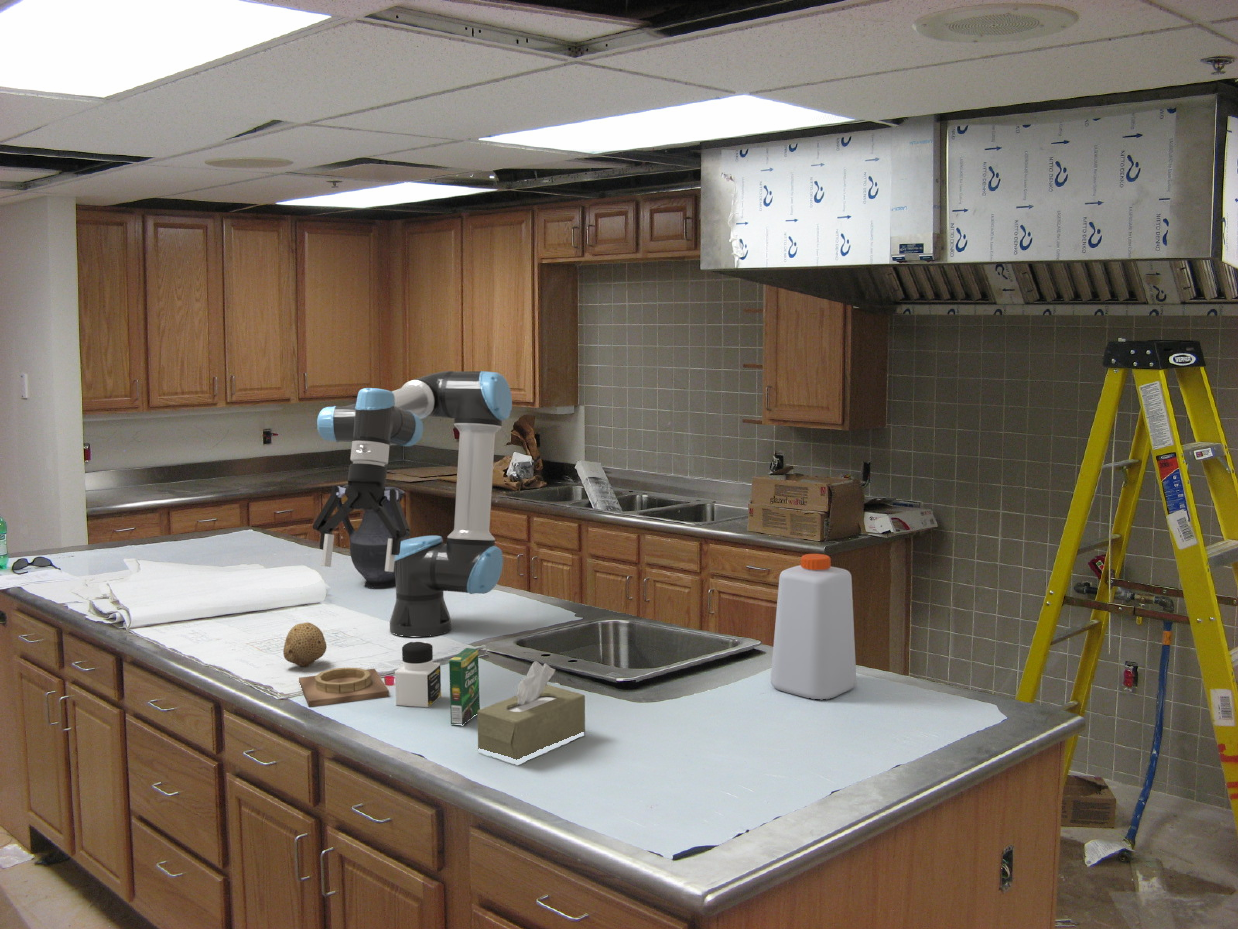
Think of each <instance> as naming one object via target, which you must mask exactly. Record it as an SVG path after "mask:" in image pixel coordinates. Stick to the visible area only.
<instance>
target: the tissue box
mask: <svg viewBox="0 0 1238 929" xmlns="http://www.w3.org/2000/svg"><path fill="white" fill-rule="evenodd" d="M555 672H556V669H555V668H552V667H551V666H550V665H548V664H547V663H544V664H543V665H542V664H540V663H539V662H538V661H537V660H535V661H534V662H532V664H531V665H530V668H529V670H528V672H527V673H526V677H524V678H523V679H522V680H520V681H519V682H518V687H517V693H516V695H515V696H512V697H509V698H507V699H504V700H501V701H499V702H495V703H494V704H490V705H488V706H485V707H483V708H480V710H478V711H477V750H478V749H479V748H480V749H484V750H487V751H490V752H493V753H498V754H501V755H504V756H508V757H511V758H513V759H516V760H517V759H520V758H522V757H523V756H527V755H529V754H531V753H534V752H536V751H537V750H539V749H543V748H544V747H546V746H550V745H552V744H554V743H558V742H559V741H562V740H564V739H567V738H569V737H571V736H575V735H577V734H579V733H581V732H585V733H586V703H585V702H586V701H585V700H586V696H585V694H583V693H578V692H576V691H571V690H569V689H564V688H560V687H557V686H553V685H551V684H548V683H549V680H550V679H551V678H552V677H553V675H554V674H555Z"/></svg>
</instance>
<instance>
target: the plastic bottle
mask: <svg viewBox="0 0 1238 929" xmlns="http://www.w3.org/2000/svg"><path fill="white" fill-rule="evenodd" d="M831 560H832V559H831V557H830V556H829V555H827V554H821V553H806V554H803V555H802V556H801V558H800V565H796V566H792V567H789V568H786V569H784V570H782V571H781V572H780V574H779V576H778V577H779V579H778V590H777V601H776V602H777V603H776V613H775V625H774V636H773V648H772V659H771V668H770V669H771V670H770V671H771V672H770V684H771V686H772V687H773V688H774V689H775V690H778V691H780V692H784V693H788V694H791V695H794V696H799V697H802V698H807V699H809V698H811V700H815V699H820V700H819V701H824V700H823V699H826V700H830V698H831V699H834V698H835V697H838V696H840V695H842V694H844V693H846V692H848V691H851V690H852V689H854V688H855V687H856V684H857V670H856V668H857V667H856V666H857V664H856V649H855V646H856V645H855V643H856V642H855V626H854V625H855V624H854V623H855V622H854V606H853V605H854V601H853V584H852V583H853V582H852V581H853V580H852V573H851V572H850V571H849V570H847V569H845V568H841V567H836V566H831V565H832V563H831Z"/></svg>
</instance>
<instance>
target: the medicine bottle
mask: <svg viewBox="0 0 1238 929" xmlns="http://www.w3.org/2000/svg"><path fill="white" fill-rule="evenodd" d="M433 648H434V647H433V645H432V643H430V642H428V641H424V640H415V641H410V642H407V643H405V644H403V646H401V649H402V650H401V653H402V654H401V655H402V656H401V657H402V666H400V667H399V668H398V669H396V670H395V671H394V689H395V690H394V691H395V692H394V693H395V705H396V706H401V707H402V706H403V707H416V708H429V707H430V706H432V705H433V704H434V703H436V701H437V700H438V699H440V698H441V696H442V680H441V679H442V678H441V677H442V676H441V672H442V671H441V663H440V662H434V659H433V658H434V657H433V656H434V655H433V654H434V650H433Z"/></svg>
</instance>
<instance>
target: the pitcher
mask: <svg viewBox="0 0 1238 929" xmlns="http://www.w3.org/2000/svg"><path fill="white" fill-rule="evenodd" d="M347 486H348V484H344V485H343V486H341V487H342V488H347ZM391 489H394V490H398V491H399V492H400V503H401V501H402V500H403V498H404V496H405V491H404V490H403V489H400V488H398V487H396V486H385V490H386V491H389V490H391ZM382 504H383V505H384V507H385V508H386V511H387V513H388V514H389V516H390V517H391V519H392V520H393V522H394V523H395V525H396V526H397V528H398V529H399V527H398V524H397V521H396V518H395V515H394V513H393V510H392V507H391V504H390V501H389V500H388V499H387V496H386V497H385V498H384V500H383V501H382ZM342 505H343V501H342V498H341V499H340V501H339V503H338V504H337V506H336V509H337V511H338V510H339V509H340V508H341V507H342ZM349 518H350V517H349V516H348V515H347V516H346V517H345V518H344V519H343V520H342V522H341V523H343V526H344V528H345V530H346V532H347V534H348V538H349V553H350V557H351V558H350V560H351V561H352V564H353V566H354V569H355V570H356V571H357V572H358V573H359V574H360V575H361V576H362V577H363V578H364V580H366V581H365V582H364V588H366V589H370V590H371V589H372V590H383V589H384V590H385V589H390V588H394V587H395V588H396V578H395V562H394V572H389V571H385V563H386V554H387V544H388V538H389V539H393V538H392V536H391V534H390V533H389V531H388V530H387V528H386V526H385V525H384V523H383V522H382V520H381V519H380V517H379V516H378V514H377V513H376V512H375V511H374V510H373V511H369V510H363V515H362V519H361V522H360V525H359V527H358V529H357V530H355V528H354V527H353V525H352V522H351V519H349ZM399 531H400V530H399ZM409 537H410V536H409ZM409 537H405V538H402V540H401V541H404V540H407V539H410V538H409Z"/></svg>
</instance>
